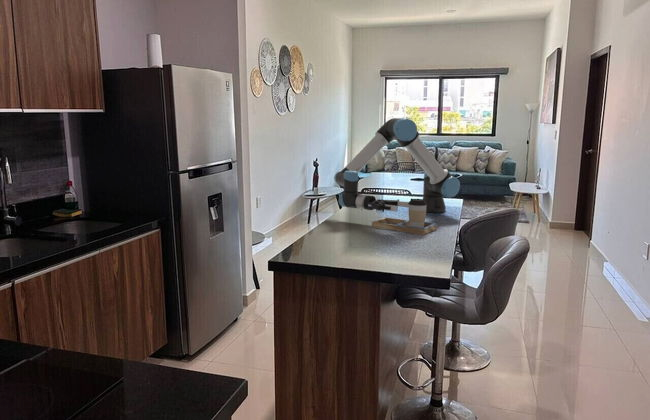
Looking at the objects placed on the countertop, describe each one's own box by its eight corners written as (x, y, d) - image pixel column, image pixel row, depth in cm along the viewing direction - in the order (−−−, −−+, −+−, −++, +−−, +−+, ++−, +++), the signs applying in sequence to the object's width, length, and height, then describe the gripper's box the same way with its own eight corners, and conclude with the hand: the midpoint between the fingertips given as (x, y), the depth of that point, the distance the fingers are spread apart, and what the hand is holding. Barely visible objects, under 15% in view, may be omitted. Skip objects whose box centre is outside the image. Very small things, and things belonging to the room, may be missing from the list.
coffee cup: (427, 228, 240) (428, 198, 237) (424, 232, 231) (425, 201, 228) (408, 226, 243) (409, 197, 240) (405, 230, 234) (406, 199, 231)
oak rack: (386, 221, 255) (386, 216, 254) (436, 229, 239) (436, 223, 238) (371, 226, 243) (371, 221, 243) (423, 234, 227) (423, 228, 226)
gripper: (378, 206, 262) (414, 210, 250) (353, 213, 242) (391, 218, 230) (378, 192, 261) (414, 196, 249) (353, 198, 241) (392, 202, 229)
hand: (403, 206), depth 239 cm, fingers open, 13 cm apart
